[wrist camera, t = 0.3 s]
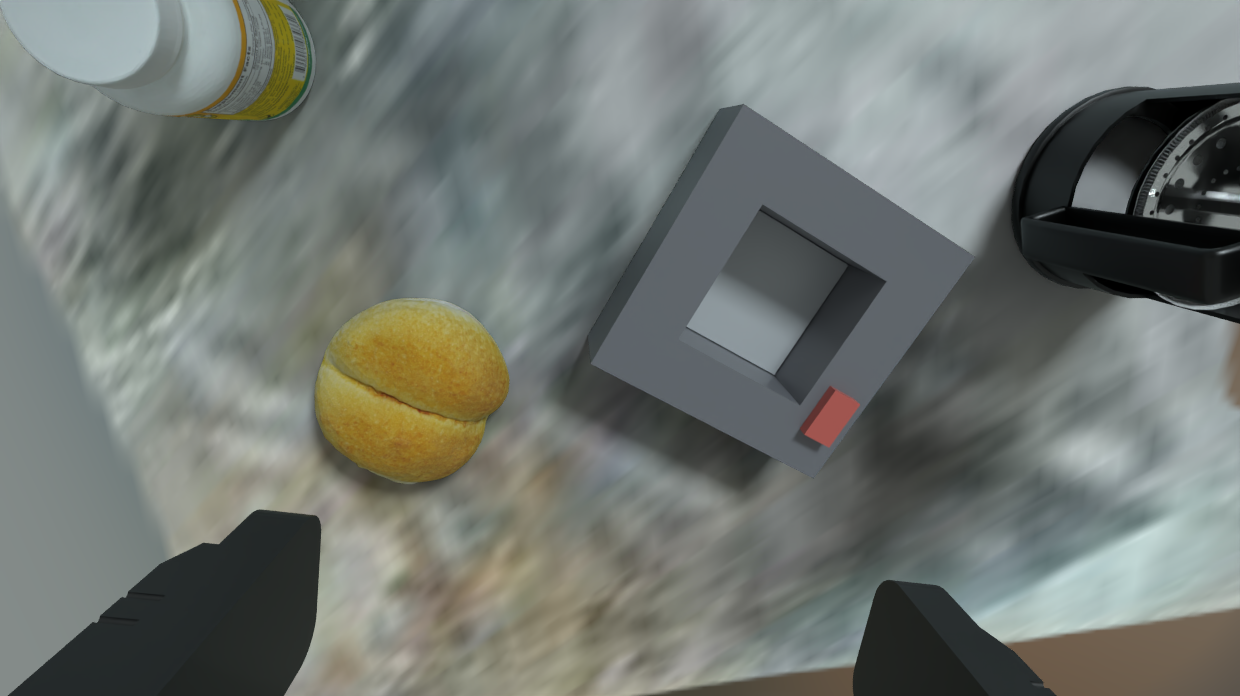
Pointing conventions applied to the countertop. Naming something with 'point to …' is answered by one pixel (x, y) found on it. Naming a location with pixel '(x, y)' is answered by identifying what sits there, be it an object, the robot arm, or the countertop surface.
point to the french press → (1142, 201)
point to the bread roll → (410, 388)
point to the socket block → (773, 293)
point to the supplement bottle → (175, 52)
